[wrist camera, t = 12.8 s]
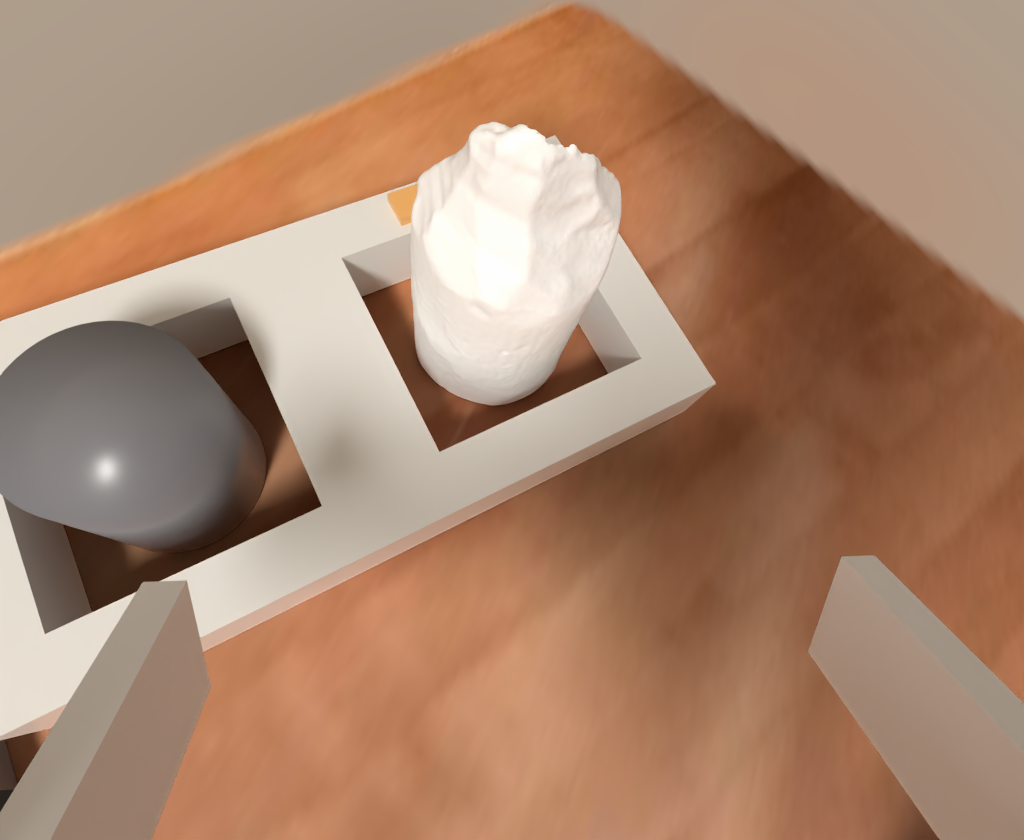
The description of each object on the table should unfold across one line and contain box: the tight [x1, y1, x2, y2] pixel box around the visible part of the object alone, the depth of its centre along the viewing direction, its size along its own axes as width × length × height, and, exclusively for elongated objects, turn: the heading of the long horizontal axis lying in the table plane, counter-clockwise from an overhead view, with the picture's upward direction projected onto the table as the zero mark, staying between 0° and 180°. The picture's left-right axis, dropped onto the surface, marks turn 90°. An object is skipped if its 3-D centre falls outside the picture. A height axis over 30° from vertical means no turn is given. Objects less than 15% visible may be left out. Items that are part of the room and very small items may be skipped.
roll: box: [411, 122, 621, 406], centre depth 19 cm, size 6×12×6 cm
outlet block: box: [0, 135, 716, 740], centre depth 21 cm, size 12×24×6 cm, turn 118°
